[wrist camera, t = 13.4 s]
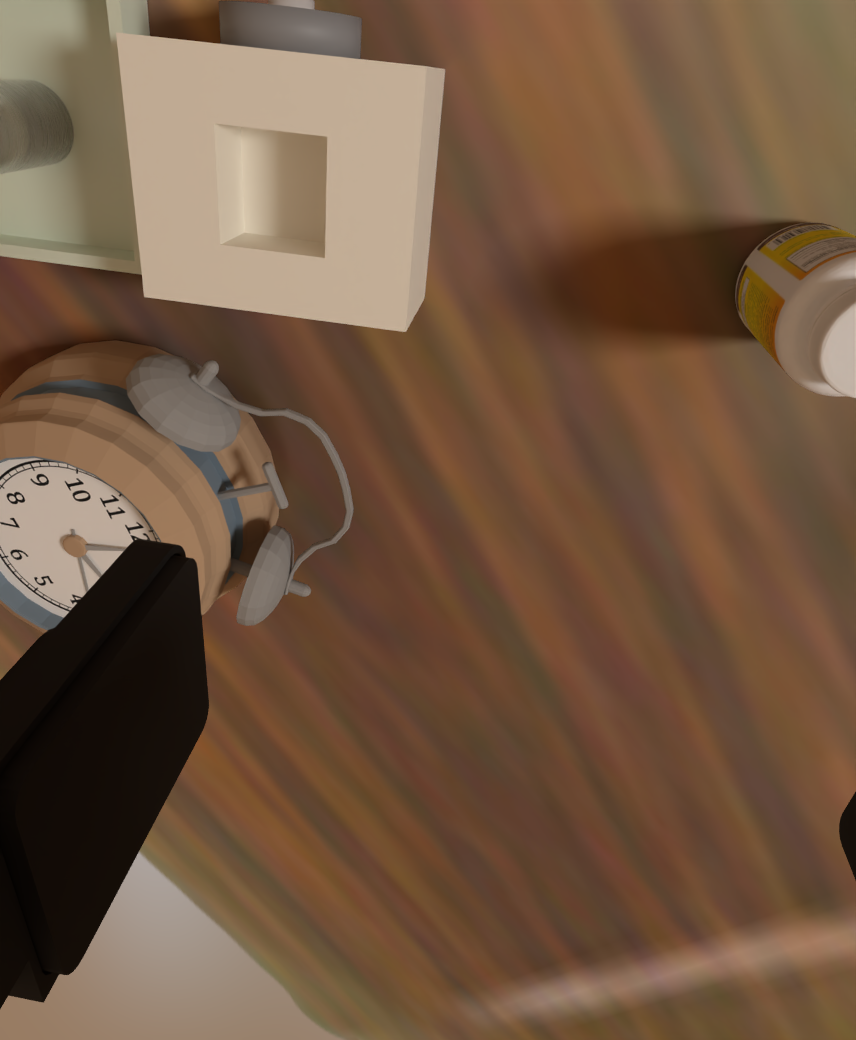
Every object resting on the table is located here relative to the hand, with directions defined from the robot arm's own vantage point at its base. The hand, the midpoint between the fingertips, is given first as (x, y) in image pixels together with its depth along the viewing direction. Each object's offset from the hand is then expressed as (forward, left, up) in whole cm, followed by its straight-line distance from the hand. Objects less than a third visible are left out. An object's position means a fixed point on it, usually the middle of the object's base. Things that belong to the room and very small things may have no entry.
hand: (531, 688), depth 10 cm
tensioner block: (-2, -11, -30) cm, 32 cm away
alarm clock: (+15, -19, -31) cm, 39 cm away
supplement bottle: (0, +12, -31) cm, 33 cm away
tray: (-3, -25, -30) cm, 39 cm away
